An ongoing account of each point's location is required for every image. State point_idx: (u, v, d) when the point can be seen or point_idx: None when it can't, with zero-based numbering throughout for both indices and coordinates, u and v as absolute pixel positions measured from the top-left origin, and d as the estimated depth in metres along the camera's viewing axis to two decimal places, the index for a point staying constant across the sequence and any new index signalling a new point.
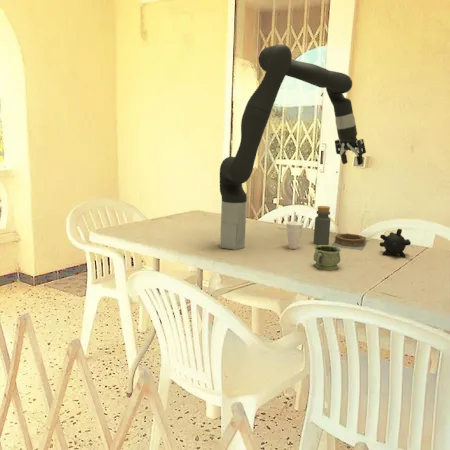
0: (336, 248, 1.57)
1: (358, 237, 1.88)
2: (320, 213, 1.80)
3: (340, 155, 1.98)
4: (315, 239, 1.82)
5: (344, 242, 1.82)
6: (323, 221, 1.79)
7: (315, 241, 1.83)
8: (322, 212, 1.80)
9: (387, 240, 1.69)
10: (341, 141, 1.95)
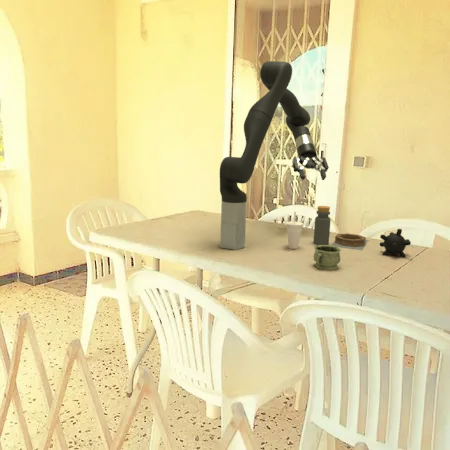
0: (336, 248, 1.57)
1: (358, 237, 1.88)
2: (320, 213, 1.80)
3: (301, 169, 1.90)
4: (315, 239, 1.82)
5: (344, 242, 1.82)
6: (323, 221, 1.79)
7: (315, 241, 1.83)
8: (322, 212, 1.80)
9: (387, 240, 1.69)
10: (302, 157, 1.94)
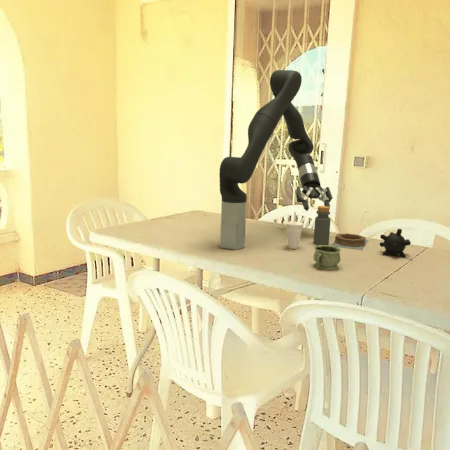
0: (336, 248, 1.57)
1: (358, 237, 1.88)
2: (320, 213, 1.80)
3: (304, 199, 1.87)
4: (315, 239, 1.82)
5: (344, 242, 1.82)
6: (323, 221, 1.79)
7: (315, 241, 1.83)
8: (322, 212, 1.80)
9: (387, 240, 1.69)
10: (306, 187, 1.91)
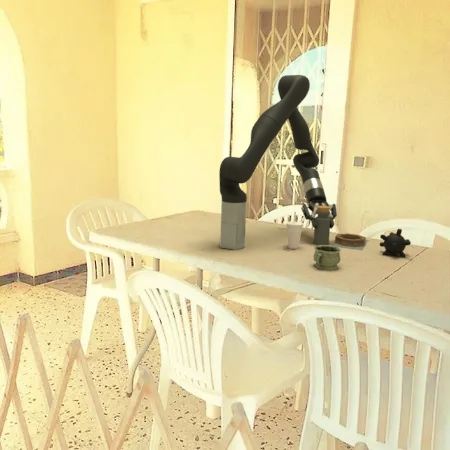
0: (336, 248, 1.57)
1: (358, 237, 1.88)
2: (320, 213, 1.80)
3: (313, 217, 1.81)
4: (315, 239, 1.82)
5: (344, 242, 1.82)
6: (323, 221, 1.79)
7: (315, 241, 1.83)
8: (321, 212, 1.80)
9: (387, 240, 1.69)
10: (311, 203, 1.85)
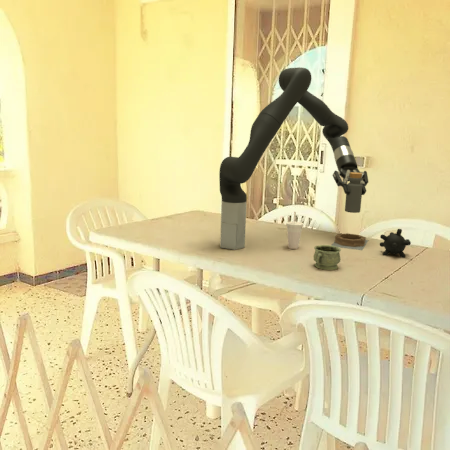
0: (336, 248, 1.57)
1: (358, 237, 1.88)
2: (352, 179, 1.80)
3: (345, 183, 1.81)
4: (347, 205, 1.82)
5: (344, 242, 1.82)
6: (355, 187, 1.79)
7: (347, 207, 1.83)
8: (354, 178, 1.80)
9: (387, 240, 1.69)
10: (343, 170, 1.85)
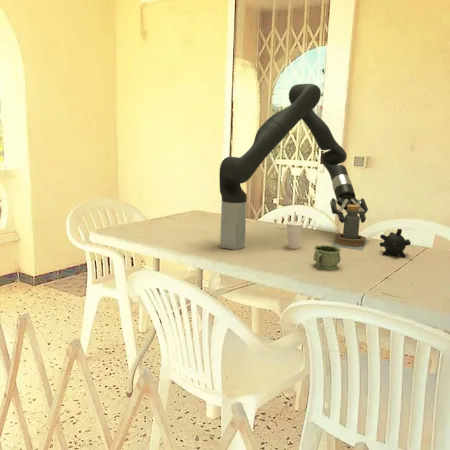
0: (336, 248, 1.57)
1: (358, 237, 1.88)
2: (350, 212, 1.82)
3: (340, 211, 1.84)
4: (344, 237, 1.85)
5: (344, 242, 1.82)
6: (352, 220, 1.82)
7: None
8: (351, 210, 1.82)
9: (387, 240, 1.69)
10: (341, 199, 1.87)
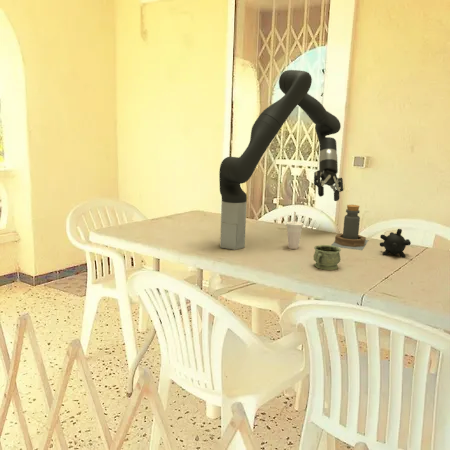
0: (336, 248, 1.57)
1: (358, 237, 1.88)
2: (350, 212, 1.82)
3: (322, 185, 1.92)
4: (344, 237, 1.85)
5: (344, 242, 1.82)
6: (352, 220, 1.82)
7: None
8: (351, 210, 1.82)
9: (387, 240, 1.69)
10: (325, 173, 1.95)
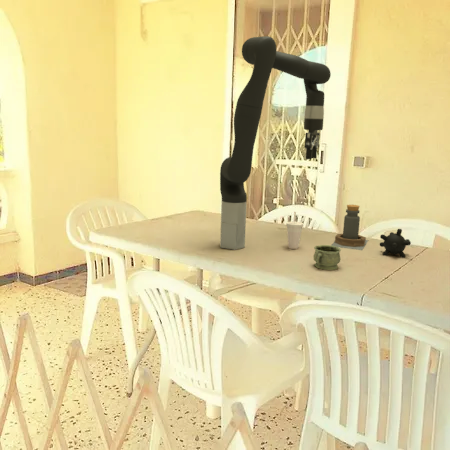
0: (336, 248, 1.57)
1: (358, 237, 1.88)
2: (350, 212, 1.82)
3: (311, 149, 1.86)
4: (344, 237, 1.85)
5: (344, 242, 1.82)
6: (352, 220, 1.82)
7: None
8: (351, 210, 1.82)
9: (387, 240, 1.69)
10: (313, 134, 1.87)
